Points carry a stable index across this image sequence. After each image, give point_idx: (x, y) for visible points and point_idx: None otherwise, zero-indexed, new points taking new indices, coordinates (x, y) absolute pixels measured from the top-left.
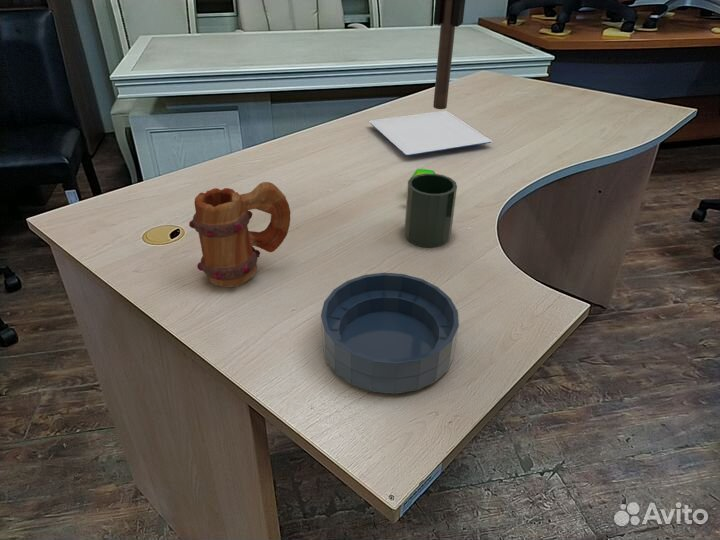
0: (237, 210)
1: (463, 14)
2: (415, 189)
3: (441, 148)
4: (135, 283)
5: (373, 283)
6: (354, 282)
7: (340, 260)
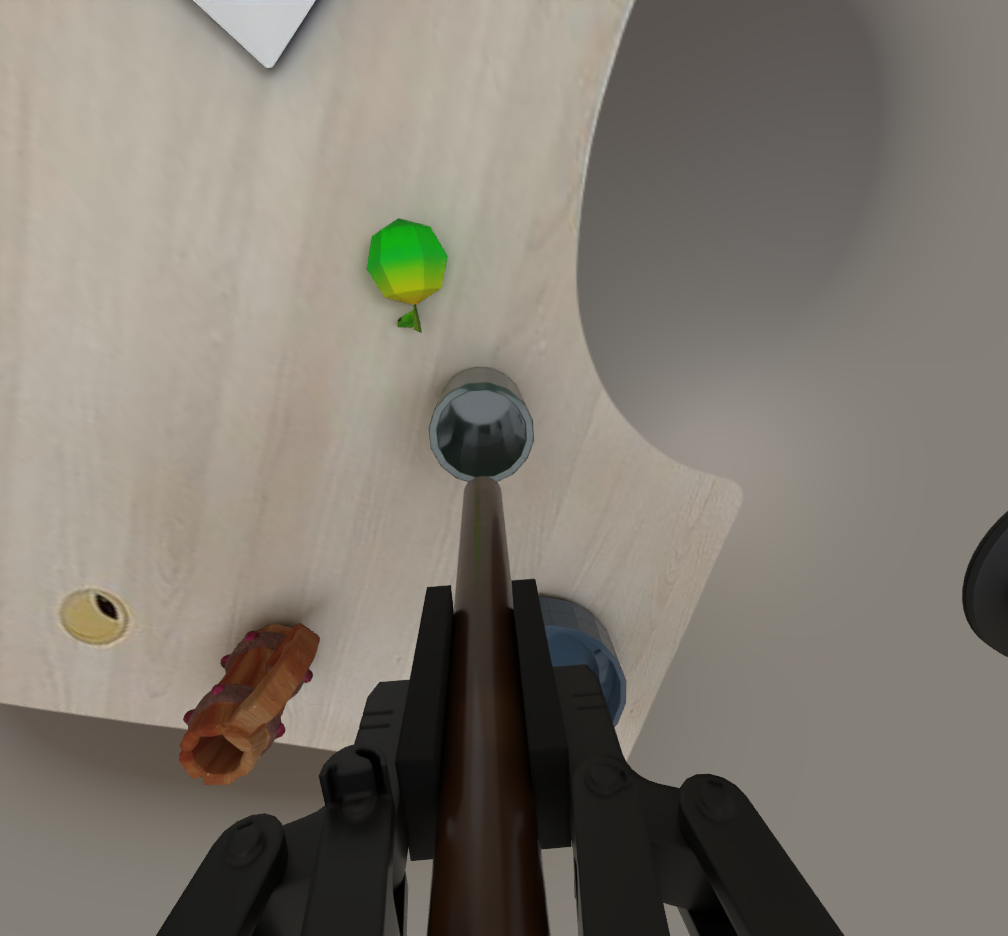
0: (259, 738)
1: (539, 601)
2: (460, 473)
3: None
4: (179, 712)
5: None
6: None
7: (388, 544)
